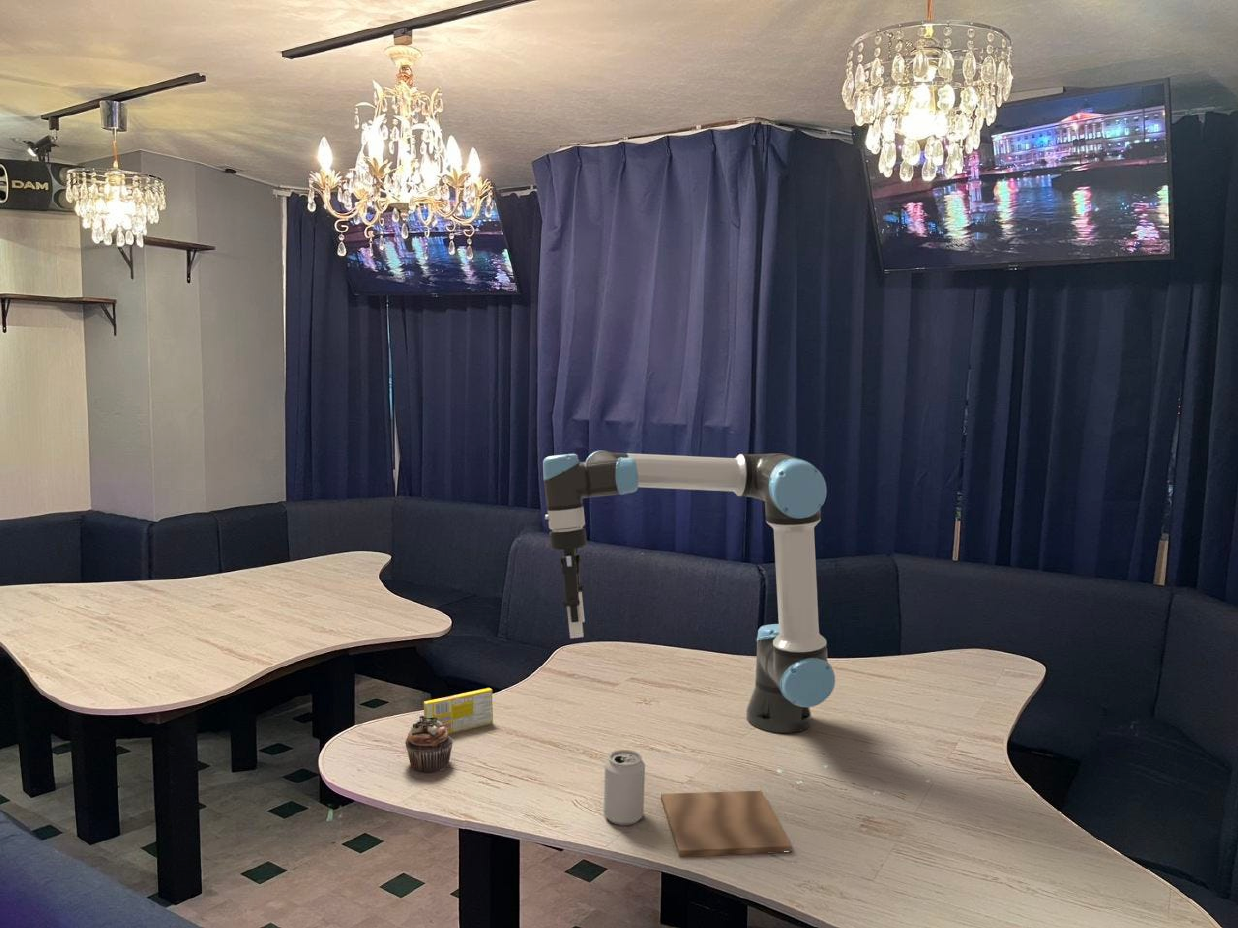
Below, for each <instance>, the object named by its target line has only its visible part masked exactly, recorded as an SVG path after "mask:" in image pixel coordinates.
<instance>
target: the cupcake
mask: <svg viewBox="0 0 1238 928" xmlns="http://www.w3.org/2000/svg"><path fill="white" fill-rule="evenodd" d="M427 719H431V720H429V721H427ZM453 744H454V740H453V738H452V737H450V736H449V734H448V730H447V729H446V728H445V727H444V726H443V725H442V723H441V722H439V721H438V720H437V718H426V717H424V715H421V716H419V717H418V718H417V719H416V722H415V723H413V724H412V725H411V727H410V730H409V732H408V733H407V737H406V740H405V748H406V751H407V755H408V760H409V765H410V767H411V770H413V771H415V772H417V773H422V774H423V773H425V774H432V773H436V772H440V771H442V770H444V769H445V768H447V767H448V766H449V763H450V759H451V754H452V749H453Z"/></svg>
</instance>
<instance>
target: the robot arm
mask: <svg viewBox="0 0 1238 928" xmlns="http://www.w3.org/2000/svg"><path fill="white" fill-rule="evenodd" d="M542 470H543V471H542V472H543V475H542V477H543V484H544V485H543V486H544V492H545V501H546V503H545V504H546V510H547V514H545V516H544V520H548V528H549V529H550V530H551V531H550V532H549V540H550V548H551V549H552V550H553V551H554V550H555V551H563V556H560V566H561V569H562V576H563V579H564V591H565V602H562V607H563V608H566V611H567V618H568V619H567V620H568V631H569V639H577V638H584V635H585V634H584V626H583V623H585V622H586V620H585V611H584V602H583V591H585V585H582V582H581V577H580V575H581V574H580V572H581V555H580V554H578V549H580V548H584V547H585V546H587V543H588V541H587V532H586V531H587V530H586V529H585V527H584V526H586V520H585V518H586V517H585V510H584V503H583V499H589V498H598V497H605V496H606V497H608V496H617V495H621V496H623V495H625V494H632V493H635V492H637V490H638V488H645V489H646V488H647V489H649V488H650V489H672V490H673V489H674V490H691V491H697V490H698V491H713V492H715V491H717V492H733V493H734V494H735V495H736V496H737V497H747V498H753V499H758V500H759V501H760V500H761V501H763V502H764V508H765V522H766V524H768V525H769V526H770V527H771V528H772V529H773V540H774V541H773V542H774V543H773V545H774V558H775V559H774V561H775V576H776V577H775V579H776V597H777V600H776V601H777V614H778V623H774V624H773V623H772V624H765V625H762V626H760V627H759V629H758V630H757V638H756V661H755V662H756V664H755V684H754V685H755V686H754V689H753V690H752V691H753V692H752V694H751V697H750V699H749V701H748V704H747V706H746V707H747V708H746V720H747V721H748V723H749V724H751V725H752V726H753V727H756V728H757V729H759V730H760V729H761V730H763V731H767V732H773V733H778V734H779V733H781V734H792V732H793V733H798V731H799V732H802V731H801V730H803V731H805V730H807V729H808V728H809V727H810V726H811V725H810V724H812V712H811V709H810V708H811V707H816V706H819V705H820V704H822V703H824V702H825V701H826V700H827V699H828V698H829V696H831V695H832V693H833V691H834V689H835V685H836V675H835V672H834V669H833V668H832V665H831V664H830V663H829V661H828V648H827V647H828V645H827V639H826V638H825V637H824V636H823V635H821V633H820V627H819V607H818V606H819V605H818V587H817V586H818V585H817V565H816V563H817V562H816V546H815V544H816V543H815V527H816V526H817V525H818V523H820V522H821V518H822V517H821V508H822V506H823V505H824V503H825V501H826V498H827V484H826V481H825V478H824V475H823V474H822V472H821V471H820V470H819V469H818V468H817V467H816V466H814V464H812V463H810V462H809V461H807V460H804V459H801V458H797V457H794V456H792V455H789V454H786V453H760V454H758V453H755V454H747V453H746V454H745V453H739V454H738V455H737V456H736V457H718V456H717V457H716V456H715V457H714V456H695V455H694V456H692V455H689V456H688V455H675V454H674V455H671V454H652V453H651V454H650V453H649V454H647V453H628V452H627V453H624V452H623V453H622V452H610V451H608V450H596V451H593V452H592V453H590V455H588V457H586V460H585V461H580V460H579V456H578V454H576V453H568V454H557V455H556V454H555V455H549V456H547V457H544V459H543V461H542ZM807 727H808V728H807ZM806 728H807V729H806ZM804 729H805V730H804Z"/></svg>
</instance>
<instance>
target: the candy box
mask: <svg viewBox="0 0 1238 928" xmlns="http://www.w3.org/2000/svg"><path fill="white" fill-rule="evenodd" d="M493 712H494V710H493V689H492V688H490V687H486V688H482V689H481V688H480V689H478V690H477V689H476V690H472V691H467V692H462V693H459V694H454V695H449V696H445V697H441V698H440V697H439V698H435V699H430V700H426V701H425V700H424V701H423V716H424V717H426V718H437V720H438V721H439V722H441V723H442V725H443V726H444V727H445V728H446V729H447V730H448V735H450V734H454V733H457V732H461V731H462V732H463V731H466V730H471V729H476V728H479V727H484V726H488V725H493V724H494V716H493V715H494V713H493ZM429 720H431V719H427V721H429Z"/></svg>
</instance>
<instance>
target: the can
mask: <svg viewBox="0 0 1238 928" xmlns="http://www.w3.org/2000/svg"><path fill="white" fill-rule="evenodd" d="M642 759H643V757H642V755H641V754H640V753H639V752H636V751H634V750H630V749H619V750H615V751H612V752H611V753H610V754H609V755H608V759H607V760H606V761H605V762H604V784H603V786H604V787H603V788H604V790H603V791H604V792H603V814H604V817H606V818H607V819H608V820H609V821H610V823H612V824H615V825H619V826H630V825H633V824H636V823H637V822H639V820H641V819H642V818H643V816H644V813H645V812H644V809H645V779H646V778H645V776H646V763H645V762H644V761H643V760H642Z"/></svg>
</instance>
